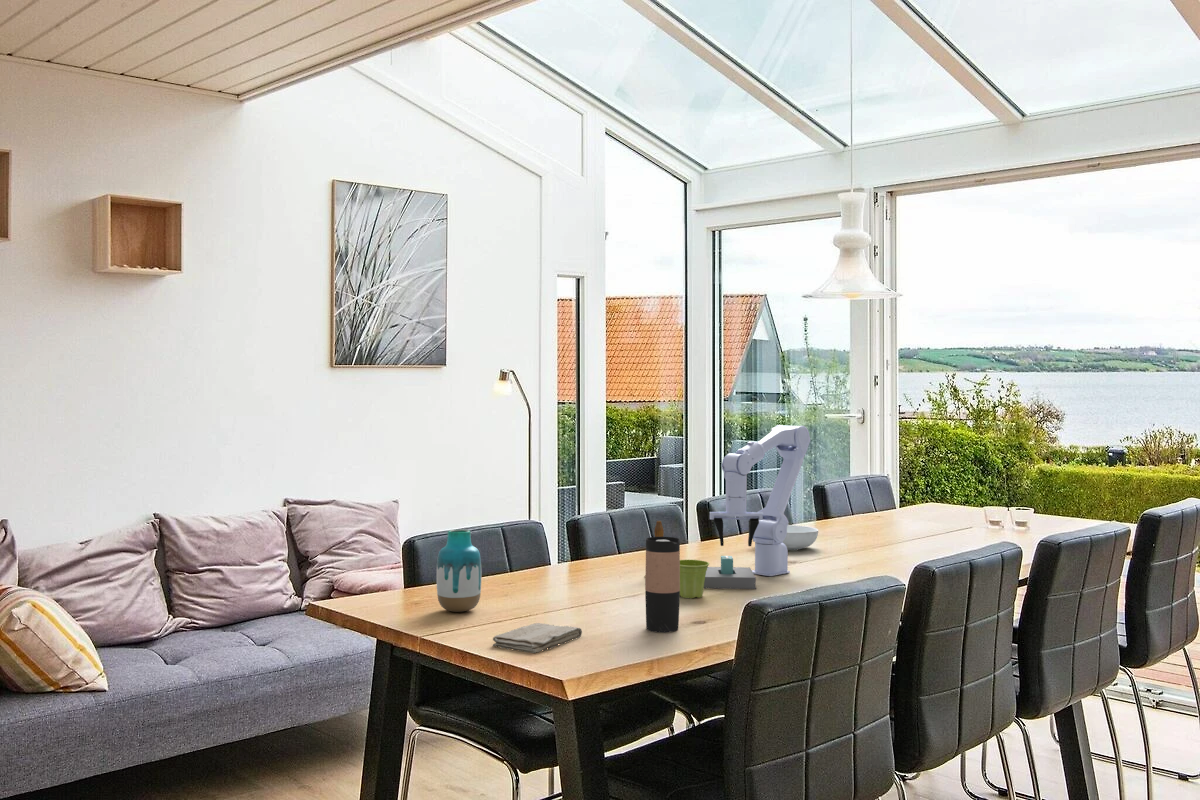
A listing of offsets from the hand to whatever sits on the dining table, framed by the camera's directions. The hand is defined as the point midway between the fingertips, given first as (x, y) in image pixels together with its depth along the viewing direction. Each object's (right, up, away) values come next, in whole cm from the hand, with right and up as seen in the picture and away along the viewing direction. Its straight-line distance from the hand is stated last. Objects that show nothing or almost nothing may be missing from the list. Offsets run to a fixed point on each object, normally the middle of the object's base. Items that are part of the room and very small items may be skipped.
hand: (735, 545), depth 303 cm
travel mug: (-24, -11, -61) cm, 66 cm away
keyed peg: (-3, -10, -5) cm, 11 cm away
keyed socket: (-3, -10, -5) cm, 11 cm away
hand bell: (-21, -10, +2) cm, 23 cm away
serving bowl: (+24, -9, +57) cm, 63 cm away
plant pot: (-14, -10, -24) cm, 30 cm away
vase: (-71, -10, -44) cm, 84 cm away
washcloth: (-51, -11, -73) cm, 90 cm away
